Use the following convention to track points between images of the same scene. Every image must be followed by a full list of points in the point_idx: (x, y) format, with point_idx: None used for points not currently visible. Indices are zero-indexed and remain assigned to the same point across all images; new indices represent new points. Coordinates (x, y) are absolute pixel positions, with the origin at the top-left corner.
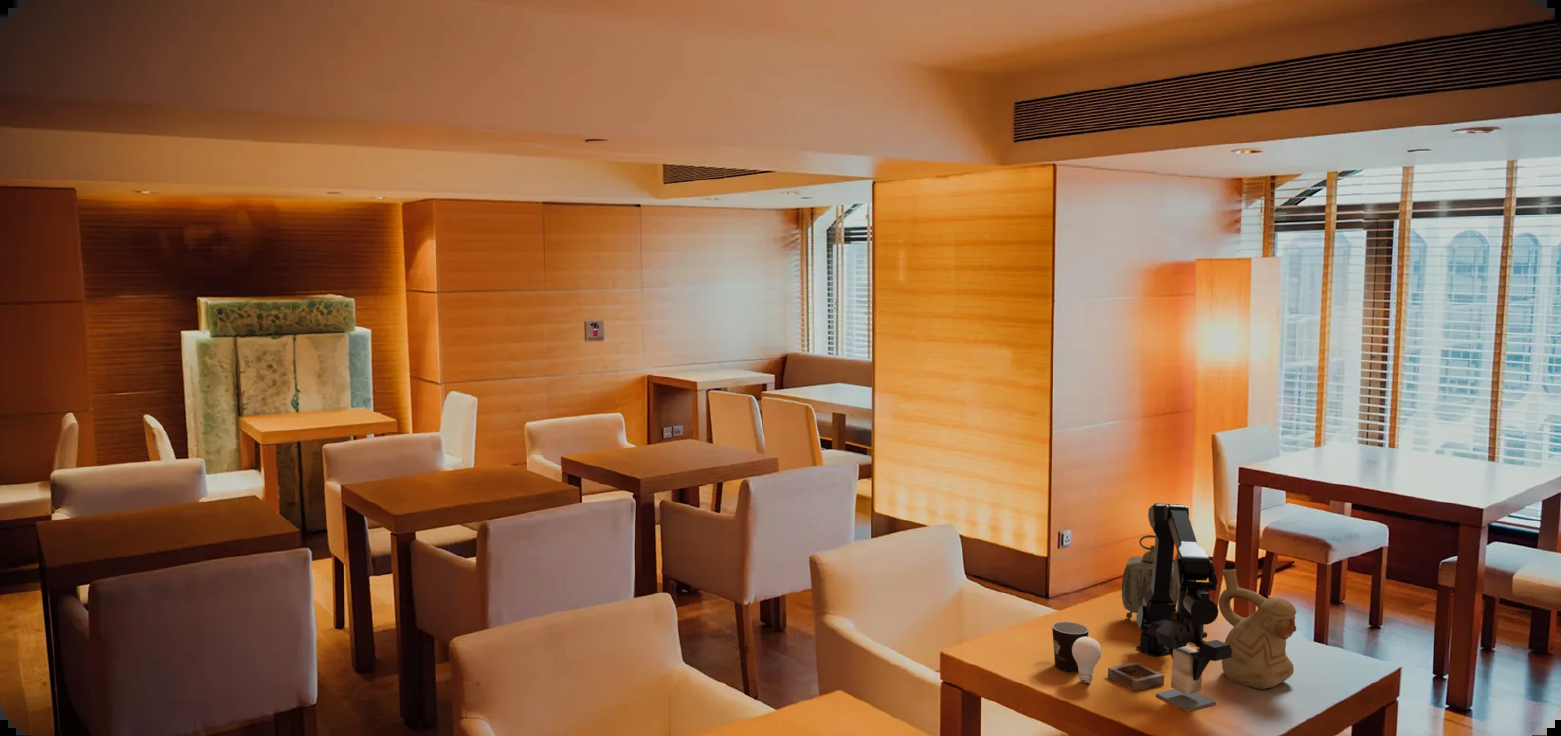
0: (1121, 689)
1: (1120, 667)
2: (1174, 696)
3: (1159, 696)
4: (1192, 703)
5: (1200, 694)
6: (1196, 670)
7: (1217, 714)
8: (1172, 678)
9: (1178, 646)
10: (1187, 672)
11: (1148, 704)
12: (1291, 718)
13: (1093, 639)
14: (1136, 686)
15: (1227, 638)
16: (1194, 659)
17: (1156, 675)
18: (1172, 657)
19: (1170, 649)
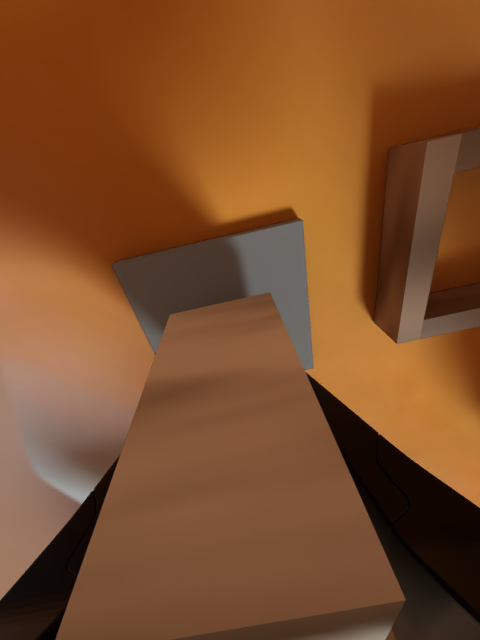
0: (448, 52)
1: None
2: (246, 285)
3: (277, 224)
4: (166, 315)
5: None
6: (111, 468)
7: (88, 352)
8: (271, 317)
9: (419, 628)
10: (144, 405)
11: (214, 87)
12: (75, 488)
13: None
14: (403, 147)
15: (390, 630)
16: (51, 603)
17: (413, 311)
18: (370, 439)
19: (455, 525)
